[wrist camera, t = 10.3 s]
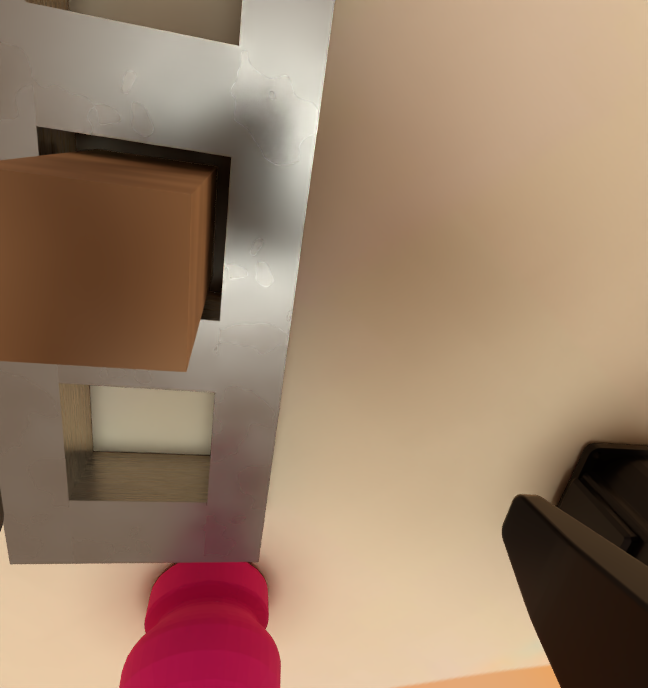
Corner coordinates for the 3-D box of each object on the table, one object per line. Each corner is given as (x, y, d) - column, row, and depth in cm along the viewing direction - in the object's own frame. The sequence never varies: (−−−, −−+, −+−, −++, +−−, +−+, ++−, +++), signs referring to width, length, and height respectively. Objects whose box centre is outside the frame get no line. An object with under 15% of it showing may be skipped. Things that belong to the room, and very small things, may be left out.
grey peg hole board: (360, -297, 12) (392, -420, 9) (257, 511, 23) (258, 561, 20) (-75, -457, 10) (-194, -669, 7) (40, 509, 21) (10, 564, 19)
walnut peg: (217, 166, 16) (191, 194, 9) (212, 275, 18) (186, 371, 11) (96, 149, 16) (-37, 164, 8) (102, 264, 17) (-5, 361, 10)
